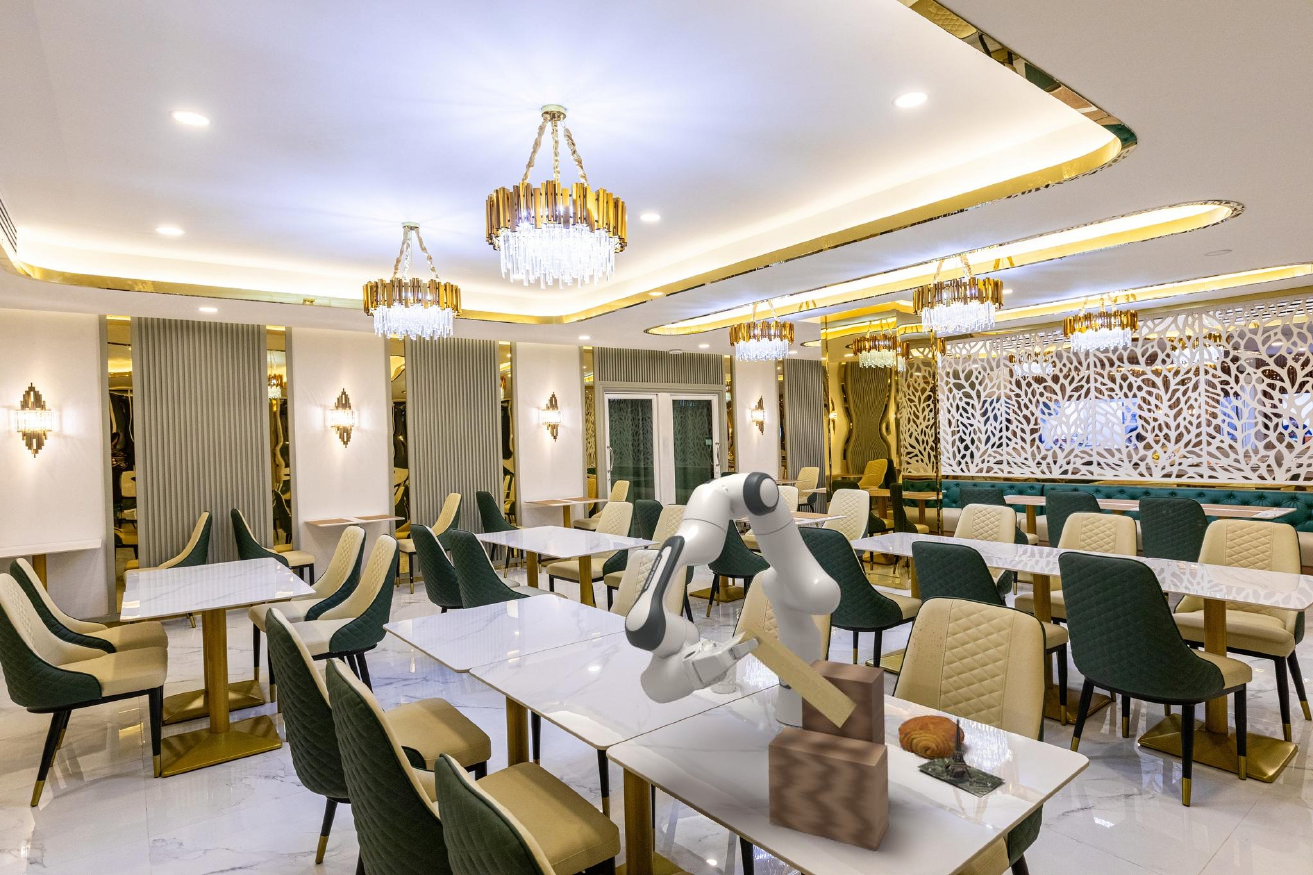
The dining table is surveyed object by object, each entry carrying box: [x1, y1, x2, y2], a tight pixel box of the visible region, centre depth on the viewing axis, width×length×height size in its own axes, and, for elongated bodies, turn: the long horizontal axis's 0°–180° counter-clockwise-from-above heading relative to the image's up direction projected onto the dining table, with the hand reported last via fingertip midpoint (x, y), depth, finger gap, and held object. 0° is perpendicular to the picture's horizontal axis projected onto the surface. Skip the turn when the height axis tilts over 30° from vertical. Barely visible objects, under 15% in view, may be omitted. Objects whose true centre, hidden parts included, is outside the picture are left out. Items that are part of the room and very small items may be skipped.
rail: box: [739, 622, 857, 728], centre depth 142 cm, size 24×4×4 cm
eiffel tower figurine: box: [916, 718, 1005, 798], centre depth 159 cm, size 15×10×13 cm
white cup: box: [711, 662, 738, 695], centre depth 215 cm, size 8×8×10 cm
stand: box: [767, 659, 890, 852], centre depth 145 cm, size 20×21×26 cm
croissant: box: [898, 714, 965, 760], centre depth 174 cm, size 14×16×8 cm
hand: (762, 637), depth 146 cm, fingers closed on rail, 4 cm apart
